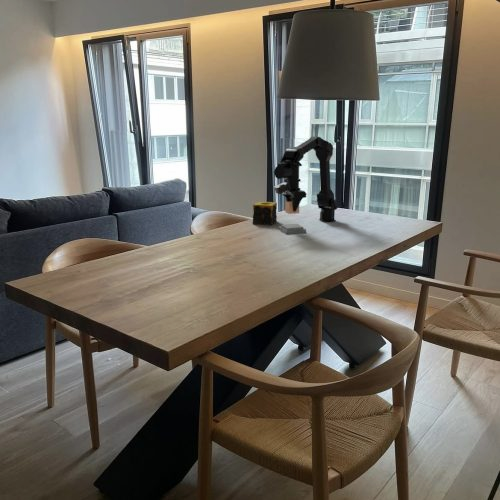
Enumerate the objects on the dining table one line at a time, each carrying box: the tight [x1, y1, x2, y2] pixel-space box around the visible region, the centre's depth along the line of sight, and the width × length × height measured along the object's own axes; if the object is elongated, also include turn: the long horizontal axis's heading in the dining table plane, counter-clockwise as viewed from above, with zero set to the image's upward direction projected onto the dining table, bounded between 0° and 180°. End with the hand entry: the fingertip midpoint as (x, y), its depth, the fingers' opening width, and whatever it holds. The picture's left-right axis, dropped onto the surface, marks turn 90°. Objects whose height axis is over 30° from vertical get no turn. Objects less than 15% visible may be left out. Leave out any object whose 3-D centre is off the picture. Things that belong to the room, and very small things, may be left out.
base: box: [277, 223, 307, 235], centre depth 230 cm, size 10×10×2 cm
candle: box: [252, 201, 278, 226], centre depth 247 cm, size 10×10×10 cm
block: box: [284, 200, 300, 215], centre depth 227 cm, size 5×5×5 cm
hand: (292, 210), depth 228 cm, fingers closed on block, 5 cm apart
